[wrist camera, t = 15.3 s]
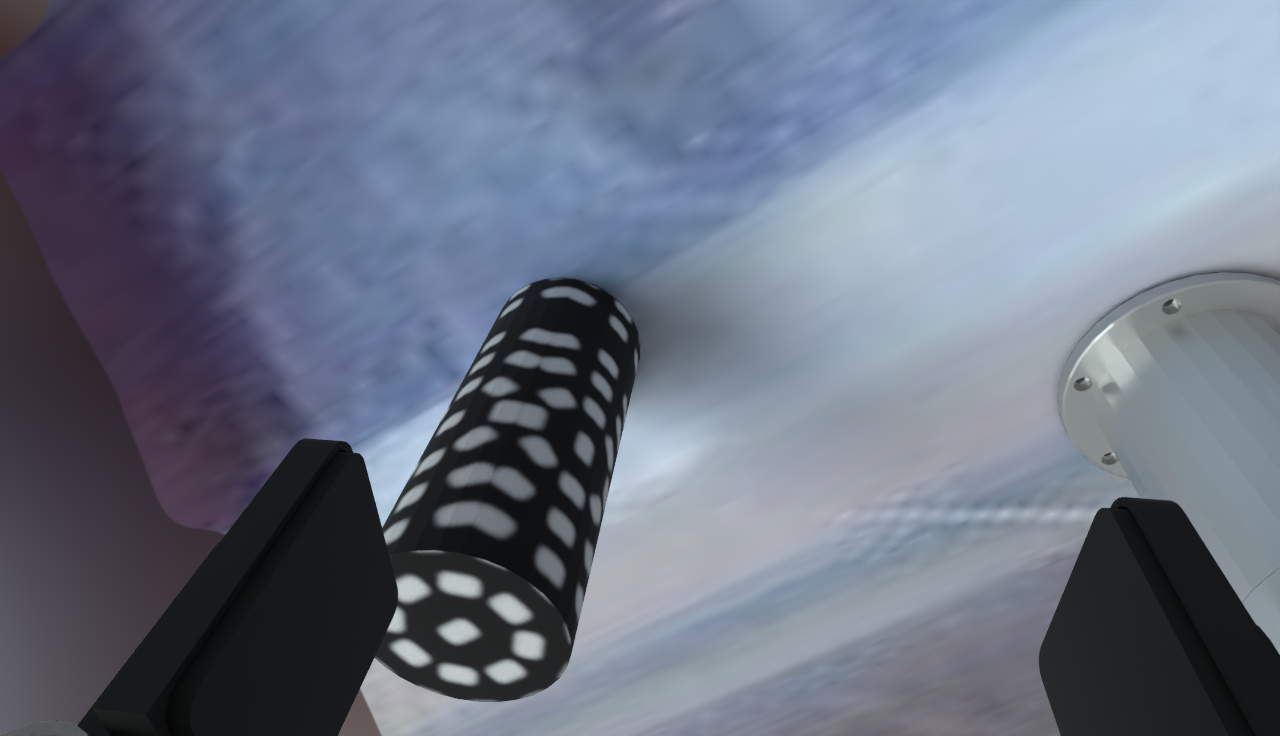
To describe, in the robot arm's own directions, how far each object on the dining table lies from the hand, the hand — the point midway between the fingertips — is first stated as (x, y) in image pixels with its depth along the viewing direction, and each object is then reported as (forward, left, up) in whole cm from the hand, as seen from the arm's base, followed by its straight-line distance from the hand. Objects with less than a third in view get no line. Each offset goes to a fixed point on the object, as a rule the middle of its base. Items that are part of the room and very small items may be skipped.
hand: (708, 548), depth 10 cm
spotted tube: (+9, +16, -31) cm, 36 cm away
